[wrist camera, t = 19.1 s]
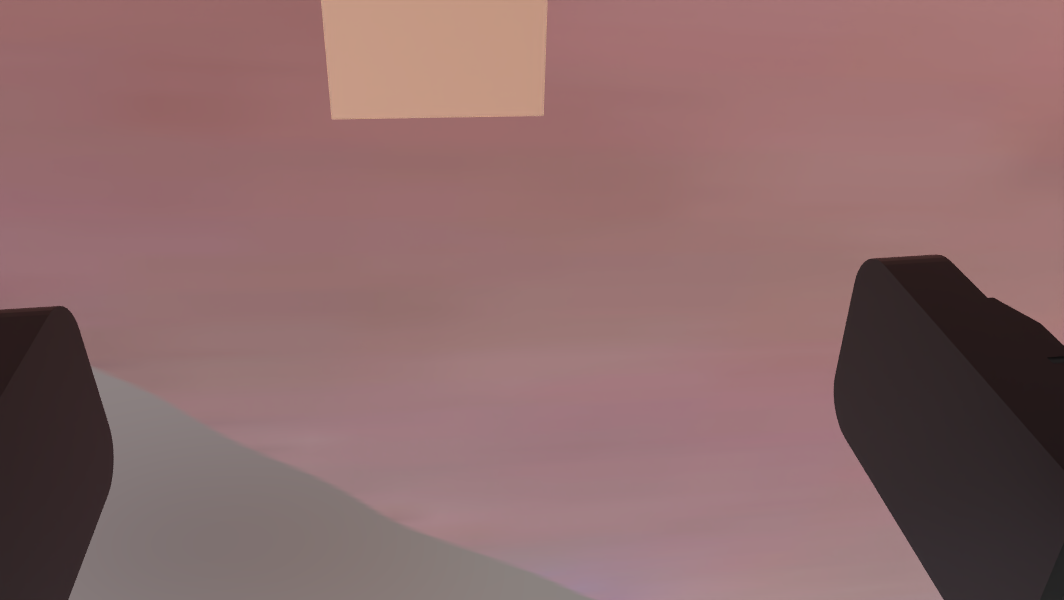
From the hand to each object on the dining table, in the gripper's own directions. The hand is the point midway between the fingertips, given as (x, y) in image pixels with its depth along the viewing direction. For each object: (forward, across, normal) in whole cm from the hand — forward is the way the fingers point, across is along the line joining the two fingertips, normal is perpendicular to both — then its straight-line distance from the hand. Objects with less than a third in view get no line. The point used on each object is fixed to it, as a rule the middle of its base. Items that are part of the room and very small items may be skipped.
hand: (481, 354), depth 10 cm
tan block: (+18, 0, 0) cm, 18 cm away
